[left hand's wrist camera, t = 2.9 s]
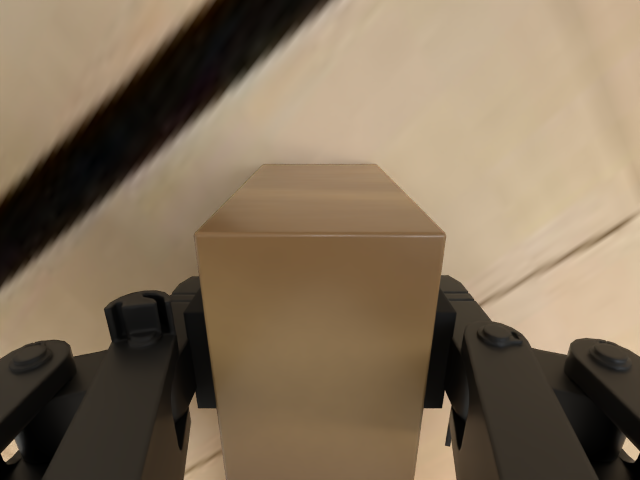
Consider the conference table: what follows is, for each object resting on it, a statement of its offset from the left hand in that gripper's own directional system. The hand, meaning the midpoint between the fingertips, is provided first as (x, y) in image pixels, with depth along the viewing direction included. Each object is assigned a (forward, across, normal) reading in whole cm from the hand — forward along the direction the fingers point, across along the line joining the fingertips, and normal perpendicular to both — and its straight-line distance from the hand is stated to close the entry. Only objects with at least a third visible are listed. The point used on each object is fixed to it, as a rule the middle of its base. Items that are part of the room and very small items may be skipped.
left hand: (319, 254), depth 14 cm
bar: (+1, 0, -8) cm, 8 cm away
